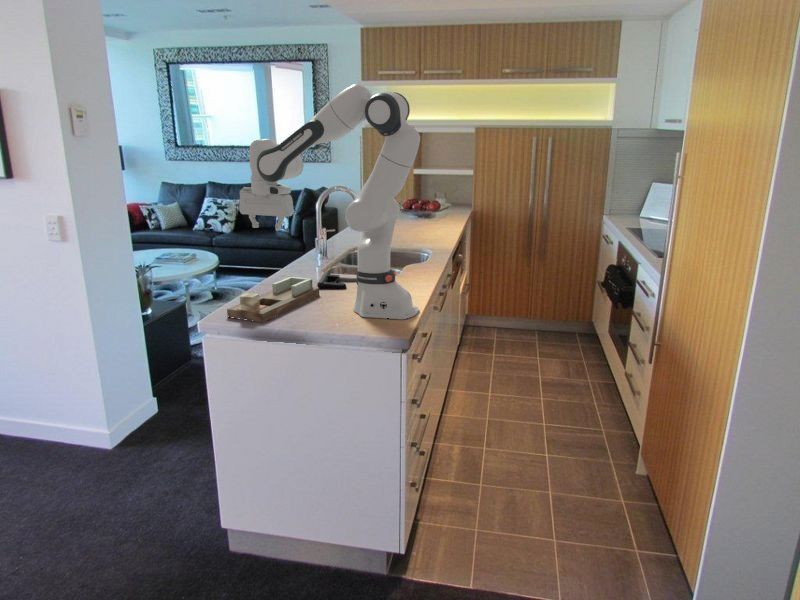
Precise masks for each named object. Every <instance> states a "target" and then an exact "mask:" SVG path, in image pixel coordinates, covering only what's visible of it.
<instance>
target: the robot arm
mask: <svg viewBox="0 0 800 600" xmlns="http://www.w3.org/2000/svg"><path fill="white" fill-rule="evenodd" d="M410 108H411V106H410V103H409V101H408V100H407V98H406V97H405V96H404V95H402V94H400V93H398V92H392V91H383V92H378V93H376V94H373V93H372V92H371V91H370V90H369V89H368V88H367V87H366V86H364V85H362V84H359V83H355V84H352V85H350V86H348V87H346V88H345V89H343V90H342V91H341V92H338V94H336V95H335V96H334V97H332V99H330V100H329V101H328V102H327V103H326V104H325V105H324V106H323V107H321V109H320V110H319V111H318V112H317V113H315V114H314V116H313V117H311V118H310V119H309V120H308V121H307V122H306V123H304V124H303V125H302V126H301V127H299V128H298V129H297V130H295V131H294V132H293V133H291V134H290V135H289V136H288V137H287V138H286V139H284V140H283V141H281V143H279V144H278V143H277V142H276V141H274V139H272V138H261V139H256V140H253V141H252V142H251V143H250V145H249V168H250V171H251V175H250V184H251V185H250V186H251V187H246V186H244V187H242V188H241V189H240V190H239V200H238V201H239V206H238V210H239V212H240V214H241V215H248V218H249V220H250V222H251V224H252V225H251V226H252V228H254V229H255V228H257V229H258V228H259V227H260V225H259V222H258V221H257V219H256V218H257V217H256V216H269V217H270V216H271V217H277V220H278V221H277V223H275V225H274V228H275V230H281V229H282V228H283V227H282V224H283V222H284V220H285V217H287V218H288V217H292V216H293V214H294V201H293V197H292V195H291V192H292V188H291V187H290V186H288V185H285V184H283V183H281V182H279V181H283V180H289V179H293V178H296V177H298V176H299V175H301V174H302V172H303V170H304V160H303V157H302V154H304V153H305V152H306V151H307V150H308V149H311V148H312V147H314V146H317V145H319V144H323V143H328V142H334V141H337V140H339V139H341V138H343V137H344V136H347V135H348V134H349V133H350V132H351V131H353V130H354V129H355V128H357V127H358V126H359V125H360V124H361V123H362V122H364V121H367V122H368V124H369V125H370V126H371V127H372V128H374V130H376V131H377V132H378V133H379V135H381V136H383V137H384V142H383V145H382V148H381V150H380V151H379V154H378V157H377V159H376V162H375V164H374V167H373V168H372V171H371V172H370V175H369V176H368V178H367V179H366V181H365V183H364V185H363V186H362V188H361V189H360V190H359V192H358V193H357V196H356V197H355V198H354V199H353V201H351V202H350V203H349V205H348V206H347V207H346V209H345V212H344V217H345V219H344V220H345V222H346V224H347V226H348V227H349V228H350V229H351V230H353V231H355V232H360V233H361V232H362V236H361V240H360V241H359V243H358V245H357V270H356V277H355V278H356V279H357V282H356V286H357V290H356V298H355V303H354V306H353V307H354V308H353V311H354V312H355V313H357V314H358V315H359V316H360V317H361V318H371V319H372V318H373V319H374V318H375V319H376V318H377V319H387V318H389V320H391V319H392V320H406V319H407V318H408V319H410V317H411V318H412V317H415V316H416V315H417V314H418V313H419V312H420V308H419V306H417V305H413V299H412V295H411V293H410V292H409V291H408V290H407V289H405V288H404V287H403V286H402V285H401V284H400V283H399V282H397V281H396V277H397V275H398V272H397V271H396V272H394V271H392V269H391V248H392V240H393V235H394V230H395V226H396V223H397V221H398V218H399V216H400V212H401V207H400V204H399V202H398V200H397V199H395V197H396V196H398V194H399V193H400V192H401V191H402V190H403V188H404V185H405V183H406V181H407V179H408V176H409V175H410V172H411V169H412V168H413V165H414V163H415V160H416V159H417V154H418V152H419V147H420V142H421V135H420V133H419V131H418V130H417V129H416V128H415V127H413V126H411V125H410V124H409V123H408V122H407V120H408V118H409V117H410V111H411V109H410ZM408 319H407V320H408Z"/></svg>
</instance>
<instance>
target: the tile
mask: <svg viewBox="0 0 800 600" xmlns="http://www.w3.org/2000/svg"><path fill="white" fill-rule="evenodd" d="M265 307H267V306H265V305H260V307H259V308H257V309H256V310H254V311H250V310H241V307H240V308H238V309H237V310H241V311H249V312H256V311H258V310H261V309H263V308H265Z"/></svg>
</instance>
